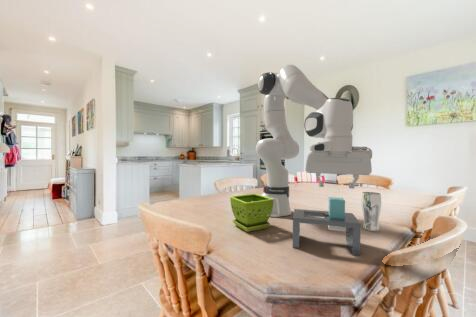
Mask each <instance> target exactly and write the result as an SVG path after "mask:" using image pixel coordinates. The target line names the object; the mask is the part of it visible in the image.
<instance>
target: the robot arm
mask: <svg viewBox="0 0 476 317" xmlns="http://www.w3.org/2000/svg"><path fill="white" fill-rule="evenodd" d="M257 90H258V91H259V93H260V94H262V95H264V99H263V100H264V103H263V118H264V126H265V129H266V131H267V132H268V133H269V134H270V135H271V136H272V137H273V138H272V137H271V138H270V137H269V138H263V139H260V140H258V141H257V143H256V145H255V153H256V156H257V157H258V158H259V159H260V160H261V161H262V162H263V164H264V167H265V170H266V171H265V172H266V184H265V185H263V190H262V191H263V192H262V193H261V194H260V195H262V196H265V197H268V198H271V199H273V208H272V212H271V215H270V217H269V218H280V217H286V216H289V215H292V210H291V206H290V198H289V197H290V186H289V171H288V169H287V168H285V167H284V166H283V164H282V160H290V159H294V158H296V157H297V156H298V155H299V153H300V146H299V143H298V142H297V141H296V140H295V139H294V138H293V136H292V135H291V133H290V130H289V129H288V125H287V120H286V119H287V117H286V110H285V100H290V102H292V103H295V104H297V105H298V104H299V105H304V106H308V107H311V108H313V109H314V110H315V111H311V112H310V113H309V114H308V115H307V116H306V118H305V120H304V124H303V125H304V131H305V133H306V135H308V137H311V138H317V139H318V138H319V139H323V140H322V141H319V142H317V143H314V144H312V145H310V146H309V150H310V152H309V153H308V155H307V157H306V161H305V171H306V173H307V174H315V177H316V178H317V180H318V187H319V188H321V187H322V188H323V187H325V185H324V184H325V181H324V180H321V178H320V177H321V176H322V175H321V174H324V175H326V174H327V175H331V174H332V175H352V178H353V179H352V181H351V182H348V188H349V189H355V187H356V183H357V182H358V181H359V179H360V178H359V177H360V176H369V175H371V174H372V168H373V167H372V158H373V150H372V149H371V148H370V147H368V146H354V145H353V128H354V108H353V107H354V106H353V103H352V101H351V100H350V99H349V98H342V97H340V98H339V97H330V98H329V97H328V96H327V95H326V94H325V93H324V92H322V91H321V90H320V89H319V88H317V87H316V85H314V84H313V83H312V82H311V81H310V80H309V79H308V77H307V75H305V73H304V72H303V71H302V70H301V69H300V68H299V67H297V66H296V65H294V64H287V65H285V66H283V67H282V68H281V69H280V70H279V72H264V73H261V75H260V76H259V78H258V81H257Z"/></svg>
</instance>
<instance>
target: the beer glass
mask: <svg viewBox="0 0 476 317" xmlns="http://www.w3.org/2000/svg"><path fill="white" fill-rule="evenodd" d="M381 194H382V193H381V192H376V191H375V192H374V191H362V194H361V209H362V210H361V211H362V216H363V224H362V230H364V231H368V232H375V233H376V232H377V233H378V232H380V224H379V223H380V222H379V219H380V214H381V212H382V211H381V210H382V195H381Z"/></svg>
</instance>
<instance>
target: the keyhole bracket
mask: <svg viewBox="0 0 476 317" xmlns="http://www.w3.org/2000/svg"><path fill="white" fill-rule="evenodd" d="M301 224H307V225H308V224H309V225H319V226H320V225H322V226H328V225H329V226H340V227H346V231H345V242H346V243H347V246H348V248H349V250H350V253H351V254H352V256H357V257H361V222H360V221H359V220H358V219H357V217H356V216H355V215H354V213H352V212H345V219H340V218H330V217H329V210H327V211H326V210H325V211H324V210H314V209H299V208H294V210H293V216H292V249H300V238H301V237H300V236H301V232H300V231H301Z"/></svg>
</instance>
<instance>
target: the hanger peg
mask: <svg viewBox="0 0 476 317" xmlns="http://www.w3.org/2000/svg"><path fill="white" fill-rule="evenodd" d="M328 211H329V217H330V218H340V219H345V213H346V200H345V199H344V198H343V197H337V196H336V197H333V196H329V197H328ZM327 228H328V230H329V231H338V232H346V227H340V226H329V225H327Z"/></svg>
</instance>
